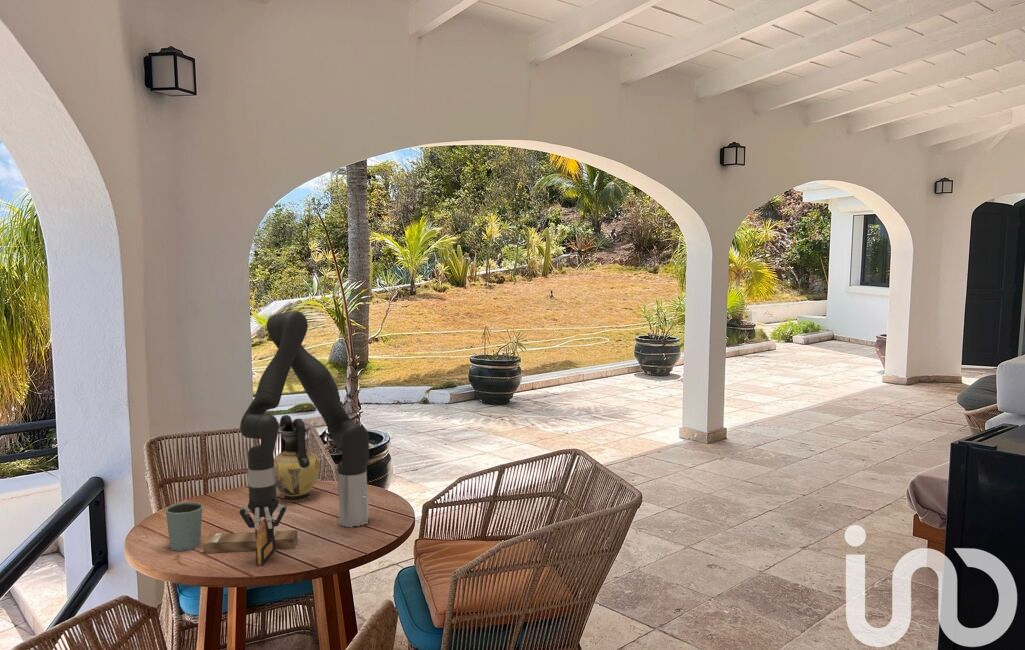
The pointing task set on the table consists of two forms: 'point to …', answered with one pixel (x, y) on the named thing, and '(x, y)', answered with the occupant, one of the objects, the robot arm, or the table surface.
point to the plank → (246, 541)
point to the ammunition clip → (263, 544)
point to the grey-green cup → (184, 525)
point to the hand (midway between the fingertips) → (264, 540)
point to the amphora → (295, 461)
